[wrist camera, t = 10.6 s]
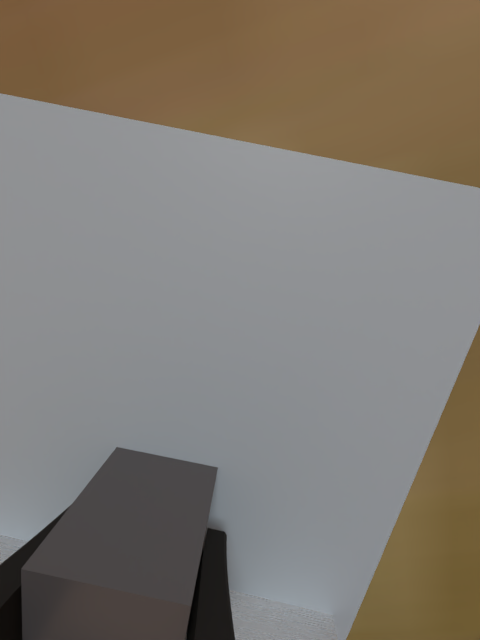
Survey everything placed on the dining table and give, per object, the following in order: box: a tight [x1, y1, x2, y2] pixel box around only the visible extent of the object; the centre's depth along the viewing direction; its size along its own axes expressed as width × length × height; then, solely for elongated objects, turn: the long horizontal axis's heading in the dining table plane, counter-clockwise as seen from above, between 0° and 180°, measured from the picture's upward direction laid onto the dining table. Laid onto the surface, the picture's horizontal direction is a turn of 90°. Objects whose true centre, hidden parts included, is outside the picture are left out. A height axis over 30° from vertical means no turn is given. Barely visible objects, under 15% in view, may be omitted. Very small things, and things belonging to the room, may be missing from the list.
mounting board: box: [0, 94, 480, 640], centre depth 12 cm, size 39×18×1 cm, turn 168°
